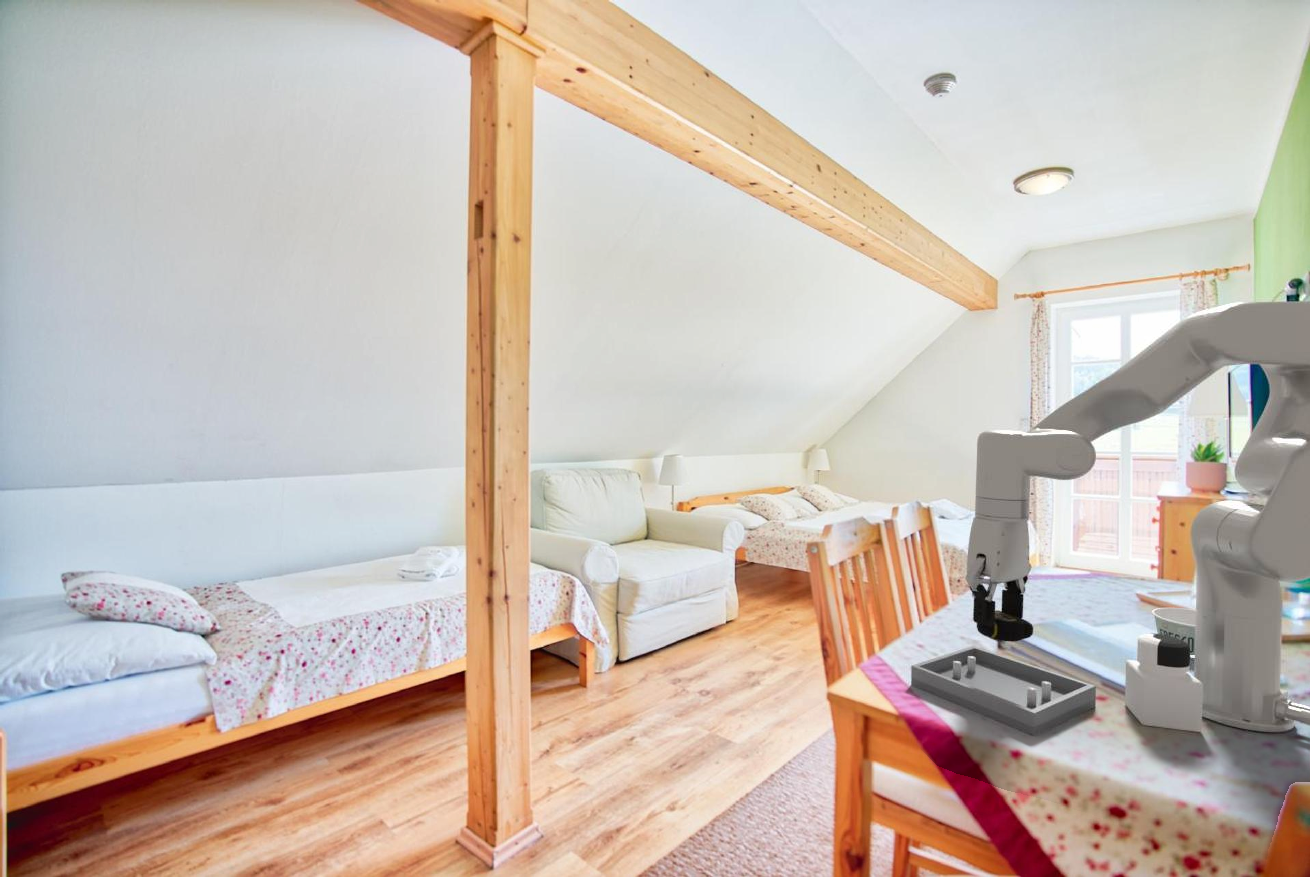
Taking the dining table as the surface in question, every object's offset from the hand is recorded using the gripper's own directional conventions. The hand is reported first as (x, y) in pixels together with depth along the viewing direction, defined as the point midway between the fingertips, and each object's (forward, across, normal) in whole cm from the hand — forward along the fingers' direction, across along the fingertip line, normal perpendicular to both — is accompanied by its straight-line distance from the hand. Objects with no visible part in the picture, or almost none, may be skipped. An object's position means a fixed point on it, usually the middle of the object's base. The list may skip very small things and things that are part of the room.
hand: (998, 619), depth 103 cm
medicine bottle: (+12, -13, +17) cm, 25 cm away
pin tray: (+12, 0, 0) cm, 12 cm away
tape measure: (+3, -1, 0) cm, 3 cm away
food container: (+12, -49, +8) cm, 51 cm away
